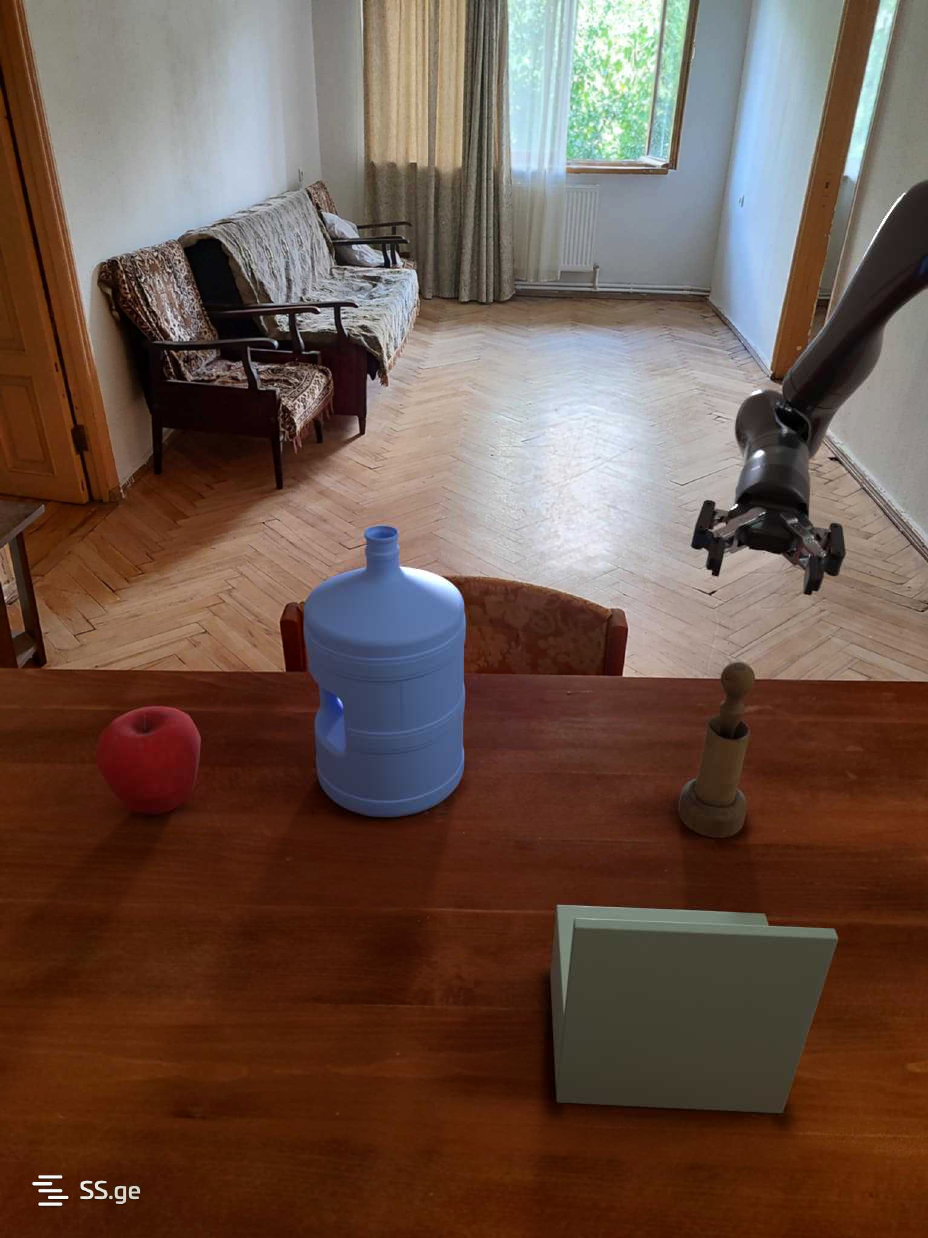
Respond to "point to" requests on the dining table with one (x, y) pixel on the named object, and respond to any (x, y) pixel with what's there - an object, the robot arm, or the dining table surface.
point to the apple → (150, 758)
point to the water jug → (387, 683)
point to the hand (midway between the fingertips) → (763, 578)
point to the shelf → (682, 1006)
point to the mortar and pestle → (721, 763)
